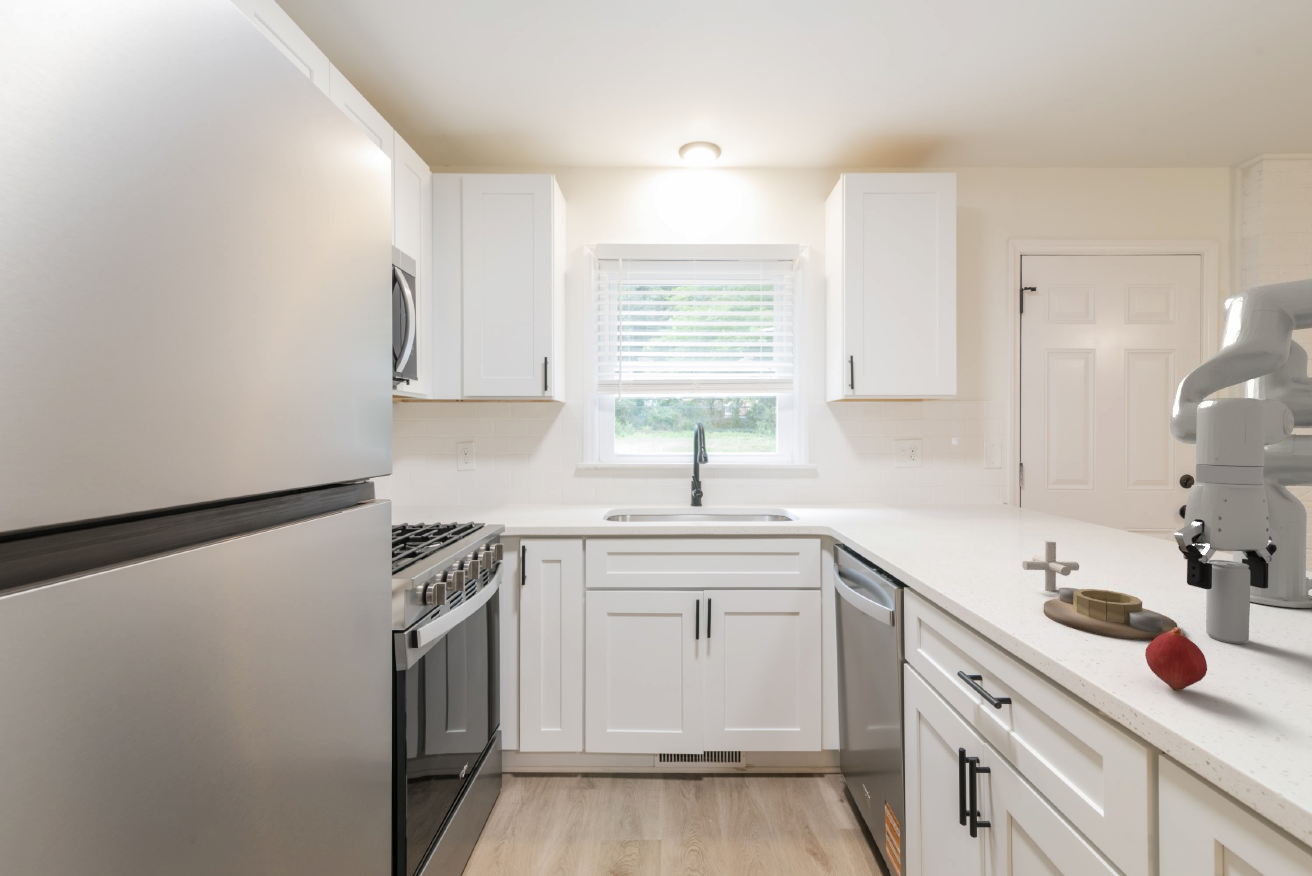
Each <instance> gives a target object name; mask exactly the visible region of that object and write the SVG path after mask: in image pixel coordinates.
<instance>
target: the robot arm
mask: <svg viewBox="0 0 1312 876" xmlns="http://www.w3.org/2000/svg"><path fill="white" fill-rule="evenodd" d="M1222 315H1223V320H1224V325H1223V326H1224V327H1223V331H1222V337H1221V340H1220V345H1219V351H1218V353H1217V352H1216V354H1214V355H1212V356H1210V357H1209V358H1208V359H1206V360H1205V361H1203V362H1201V363H1199V365H1197V366H1196V367H1195V368H1193V370H1191V371H1190V372H1189V373H1188V374H1186V376H1184V377H1183V379H1182V380H1181V381H1180V383H1179V384H1178V386H1177V388H1176V390H1175V395H1174V399H1173V403H1172V406H1171V409H1170V410H1171V412H1170V416H1169V429H1170V432H1171V435H1172V436H1173V437H1174V439H1176V440H1177V441H1178V442H1180V443H1183V444H1187V445H1188V444H1189V445H1195V484H1192V485H1191V487H1190V489H1189V493H1188V496H1187V501H1186V506H1185V513H1184V522H1183V523H1184V524H1183V528H1181V529H1179V530H1177V531H1175V532H1174V535H1173V537H1174V538H1175V541H1176V543H1177V545H1178V550H1179V551H1180V552H1181V554H1182V556H1183V559H1184V560H1186V584H1187V585H1188V586H1192V587H1195V588H1198V589H1203V590H1207V589H1211V588H1212V564H1211V563H1208V561H1209V560H1211V558H1212V557H1213V556H1214V555H1215V553H1216V552H1217V551H1219V552H1233V553H1232V558H1233V559H1232V561H1234V562H1240V563H1244V564H1247V565H1249V567H1248V569H1249V570H1250V603H1255V604H1262V605H1266V606H1274V607H1282V608H1294V609H1312V595H1310V594H1309V591H1310V590H1312V578H1309V577H1306V576H1307V523H1308V522H1307V518H1308V517H1307V515H1308V514H1307V509H1306V507H1305V505H1304V504H1303V502H1301V500H1300V499H1298V497H1296V496H1295V495H1294V494H1293V493H1291V492H1290V490H1288V489H1287V488H1286V487H1288V486H1289V487H1290V486H1291V487H1294V486H1295V487H1296V486H1298V487H1299V486H1300V487H1312V434H1295V433H1294V434H1293V433H1292V432H1293V430H1294V429H1312V377H1310V376H1308V360H1309V359H1308V358H1309V357H1308V352H1307V351H1306V350H1305V349H1304V347H1303V346H1302V345H1300V344H1299V343H1298V342H1297V341H1295V340H1294V339H1293V338H1292V337H1293V332H1294V331H1295V330H1307V329H1312V278H1307V279H1299V280H1294V281H1285V282H1279V283H1278V282H1277V283H1272V284H1265V285H1259V286H1255V287H1251V288H1249V289H1245V290H1242V291H1240V292H1237V293H1234V294H1232V295H1230V296H1229V297H1228V298H1226V299H1225V301H1224V303H1223V306H1222ZM1239 384H1242V385H1241V397H1222V398H1221V397H1220V398H1219V397H1218V398H1209V399H1206V398H1207V397H1208V396H1210V395H1212V394H1214V393H1217V392H1218V391H1221V390H1224V389H1225V388H1229V387H1232V386H1235V385H1239ZM1200 550H1202V551H1200Z"/></svg>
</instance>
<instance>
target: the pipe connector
mask: <svg viewBox="0 0 1312 876" xmlns="http://www.w3.org/2000/svg"><path fill="white" fill-rule="evenodd" d="M1044 543H1045V545H1044V557H1042V556H1041V555H1037V554H1036V555H1034V556H1033V557H1032V560H1023V561H1022V564H1021V565H1022V566H1021V567H1022V568H1023V570H1027V571H1044V590H1045V591H1049V592H1056V590H1057V589H1056V588H1057V585H1056V584H1057V574H1060V575H1061V576H1065V577H1068V576H1069V575H1071V572H1072V571H1079V569H1080V564H1079V562H1078V561H1065V560H1064V561H1063V560H1062V561H1060V560H1059V561H1057V541H1054V540H1045V541H1044Z"/></svg>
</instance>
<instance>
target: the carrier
mask: <svg viewBox="0 0 1312 876" xmlns="http://www.w3.org/2000/svg"><path fill="white" fill-rule="evenodd" d="M1043 613H1044V615H1045V616H1046V617H1047V618H1048V619H1049V620H1052V621H1053V622H1056V623H1058V624H1060V625H1063V626H1065V625H1066V627H1068V626H1069V628H1071V627H1072V629H1074V630H1075V629H1076V630H1078V629H1079V631H1082V632H1086V633H1090V634H1096V635H1100V636H1106V637H1111V638H1118V639H1123V640H1124V639H1125V640H1134V639H1137V641H1153V640H1154V639H1155V638H1156V637H1158V636H1159V635H1161V634H1164V633H1167V632H1169V631H1172V630H1173V629H1174V628H1178V623H1177V622H1176V621H1175V620H1173V619H1172V618H1171V617H1168V616H1166V615H1164V614H1162V613H1159V612H1156V611H1153V610H1149V609H1147V608H1143V600H1141V599H1140V598H1139V597H1137V596H1133V595H1131V594H1127V593H1123V592H1119V591H1113V590H1107V589H1098V588H1097V589H1096V588H1081V589H1080V588H1075V587H1060V588H1059V597H1058V598H1052V599H1049V600H1046V601H1045V602H1044V603H1043ZM1138 639H1140V640H1138Z"/></svg>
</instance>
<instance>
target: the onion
mask: <svg viewBox="0 0 1312 876" xmlns="http://www.w3.org/2000/svg"><path fill="white" fill-rule="evenodd" d="M1182 630H1183V629H1182V628H1180V627H1177V628H1174V629H1173V630H1172V631H1169V632H1167V633H1164V634H1161V635H1159V636H1158V637H1156V638H1155V639H1154V640H1151V642H1149V643H1148V644H1147V647H1146V648H1145V655H1144V656H1145V659H1146V663H1147V666H1148V667H1149V669H1150V670H1151V672H1152V673H1153V674H1154V675H1156V677H1157V678H1159V679H1160V680H1161V681H1162V682H1164V683H1165V684H1166V685H1167V686H1169V687H1170V688H1171V689H1172V690H1175V691H1181V690H1184V689H1185V688H1189V687H1190V686H1192V685H1194V684H1196V683H1199V682H1201V681H1202V680H1203V678H1205V676H1206V675H1207V671H1208V664H1207V660H1206V656H1205V655H1204V653H1203V651H1202V650H1201V648H1200V647H1199V646H1198V645H1197V644H1196V643H1195V642H1193V640H1191V639H1189V638H1188V637H1187V636H1185V635H1184V633H1183V632H1182Z"/></svg>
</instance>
